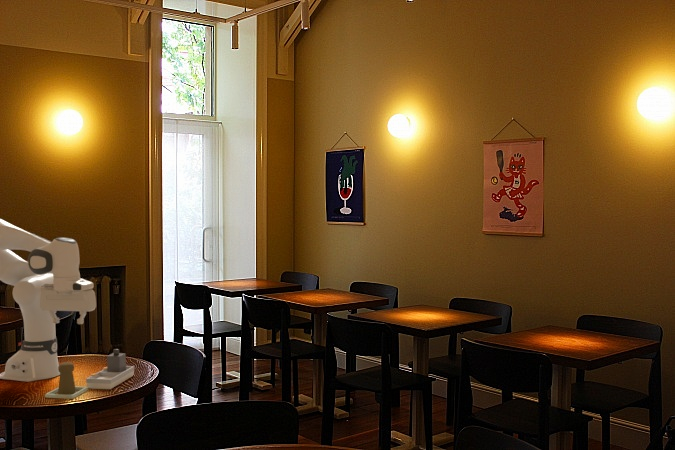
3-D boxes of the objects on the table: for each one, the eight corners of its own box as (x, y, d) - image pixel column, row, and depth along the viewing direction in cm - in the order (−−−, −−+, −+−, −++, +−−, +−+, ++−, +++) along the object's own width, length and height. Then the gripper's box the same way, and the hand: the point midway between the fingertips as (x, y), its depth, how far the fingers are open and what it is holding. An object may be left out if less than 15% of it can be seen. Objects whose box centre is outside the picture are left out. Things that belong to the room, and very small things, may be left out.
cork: (62, 391, 256) (61, 360, 255) (78, 391, 255) (78, 360, 255) (54, 396, 249) (53, 365, 249) (72, 396, 249) (71, 365, 249)
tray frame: (45, 397, 248) (45, 394, 248) (61, 389, 258) (61, 385, 258) (72, 398, 247) (72, 395, 246) (87, 390, 257) (87, 387, 257)
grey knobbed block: (107, 374, 270) (106, 350, 270) (113, 371, 275) (113, 347, 275) (120, 374, 269) (119, 351, 269) (126, 371, 274) (125, 348, 274)
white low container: (85, 388, 259) (84, 377, 259) (110, 374, 278) (109, 364, 278) (111, 389, 258) (110, 378, 257) (134, 375, 276) (134, 365, 276)
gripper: (34, 285, 250) (36, 324, 251) (88, 285, 246) (89, 325, 247) (45, 282, 257) (47, 321, 257) (97, 283, 252) (99, 322, 253)
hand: (68, 323), depth 252 cm, fingers open, 8 cm apart
